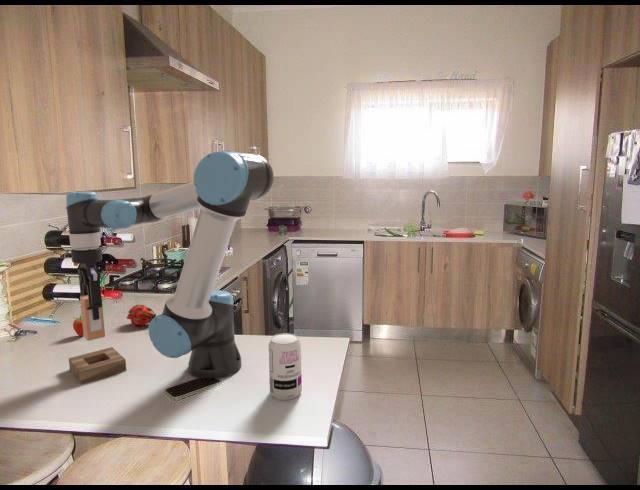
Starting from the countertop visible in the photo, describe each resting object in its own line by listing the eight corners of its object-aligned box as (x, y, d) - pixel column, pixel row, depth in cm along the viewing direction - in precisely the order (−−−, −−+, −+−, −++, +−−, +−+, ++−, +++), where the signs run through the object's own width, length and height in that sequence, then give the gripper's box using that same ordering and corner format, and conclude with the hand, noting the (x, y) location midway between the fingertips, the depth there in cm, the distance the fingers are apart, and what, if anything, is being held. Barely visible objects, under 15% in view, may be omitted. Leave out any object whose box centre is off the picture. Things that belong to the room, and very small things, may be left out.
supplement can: (285, 382, 119) (284, 330, 116) (308, 392, 113) (307, 337, 111) (263, 394, 112) (261, 339, 110) (286, 405, 107) (285, 347, 105)
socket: (126, 370, 127) (125, 359, 126) (80, 383, 119) (79, 371, 118) (113, 357, 135) (112, 347, 135) (69, 369, 127) (68, 358, 127)
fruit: (79, 333, 157) (77, 311, 155) (93, 333, 156) (91, 311, 155) (70, 338, 151) (68, 316, 150) (85, 338, 151) (83, 316, 150)
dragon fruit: (131, 325, 168) (154, 334, 164) (116, 319, 161) (141, 328, 157) (141, 305, 171) (165, 313, 167) (128, 298, 164) (152, 306, 160)
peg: (105, 336, 125) (101, 296, 123) (88, 340, 122) (84, 299, 120) (100, 332, 128) (97, 293, 126) (83, 336, 125) (79, 296, 124)
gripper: (110, 250, 117) (117, 332, 121) (91, 242, 130) (98, 317, 134) (79, 253, 112) (87, 339, 116) (63, 245, 125) (71, 322, 129)
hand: (93, 327), depth 125 cm, fingers closed on peg, 4 cm apart
